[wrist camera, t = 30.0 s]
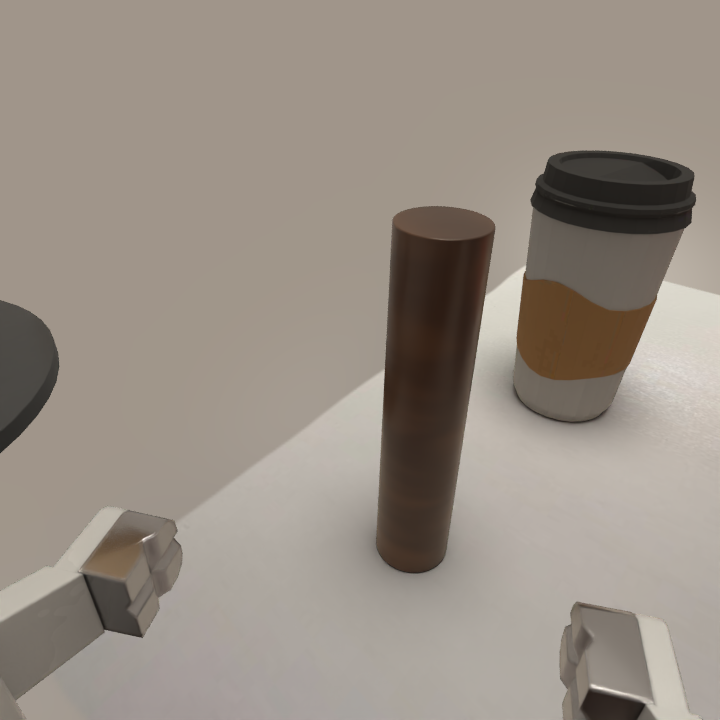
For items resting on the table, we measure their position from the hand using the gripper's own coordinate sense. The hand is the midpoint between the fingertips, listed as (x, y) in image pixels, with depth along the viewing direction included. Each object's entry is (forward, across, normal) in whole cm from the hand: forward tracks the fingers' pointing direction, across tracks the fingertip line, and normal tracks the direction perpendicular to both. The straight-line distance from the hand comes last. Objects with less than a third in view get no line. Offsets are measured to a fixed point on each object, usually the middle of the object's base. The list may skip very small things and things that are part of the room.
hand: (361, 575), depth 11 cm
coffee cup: (+26, -8, +13) cm, 30 cm away
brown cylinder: (+11, 0, +12) cm, 17 cm away
